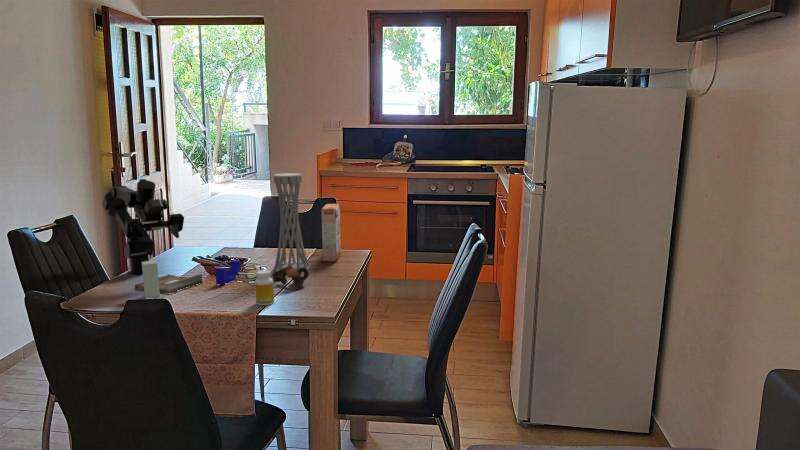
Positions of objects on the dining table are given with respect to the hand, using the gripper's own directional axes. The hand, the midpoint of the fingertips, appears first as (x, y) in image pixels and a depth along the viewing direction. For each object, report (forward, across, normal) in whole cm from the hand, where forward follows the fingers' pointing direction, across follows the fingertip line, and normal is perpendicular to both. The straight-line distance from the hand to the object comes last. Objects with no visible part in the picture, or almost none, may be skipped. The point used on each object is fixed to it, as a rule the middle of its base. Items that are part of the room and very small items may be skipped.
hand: (164, 239), depth 194 cm
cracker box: (+12, +63, +12) cm, 66 cm away
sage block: (+14, -8, +11) cm, 19 cm away
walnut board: (+6, +1, +15) cm, 16 cm away
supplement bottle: (+42, +14, -2) cm, 44 cm away
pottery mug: (+34, +29, +2) cm, 45 cm away
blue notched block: (+14, +18, +12) cm, 25 cm away
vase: (+16, +42, +10) cm, 46 cm away
